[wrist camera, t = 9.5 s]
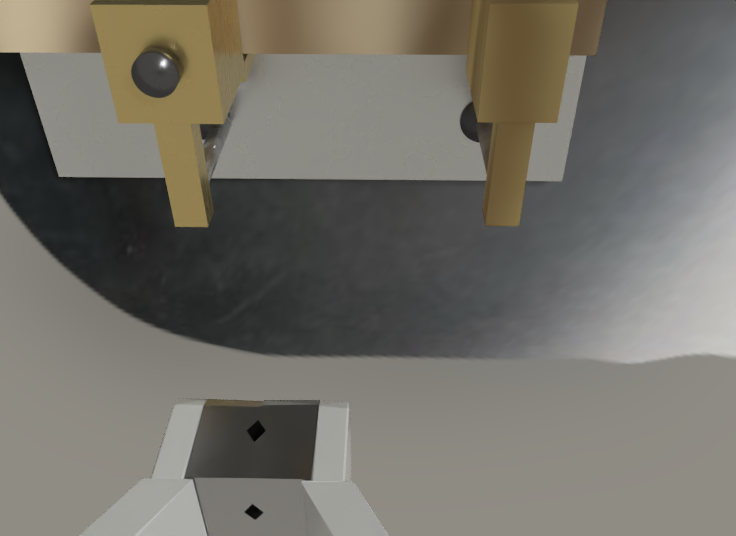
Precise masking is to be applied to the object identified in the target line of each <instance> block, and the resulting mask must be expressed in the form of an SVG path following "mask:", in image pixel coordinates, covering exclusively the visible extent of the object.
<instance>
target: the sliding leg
mask: <svg viewBox="0 0 736 536" xmlns="http://www.w3.org/2000/svg"><path fill="white" fill-rule="evenodd" d="M90 8H91V12H92V17H93V21H94V25H95V29H96V33H97V37H98V41H99V45H100V49H101V53H102V58H103V62H104V66H105V70H106V74H107V78H108V82H109V86H110V90H111V94H112V99H113V103H114V107H115V111H116V115H117V119H118V123H140V124H154V128H155V133H156V137H157V142H158V147H159V152H160V156H161V161H162V166H163V171H164V175H165V180H166V185H167V190H168V194H169V199H170V204H171V209H172V214H173V218H174V223H175V227H208V226H209V224H210V221H211V218H212V215H213V212H214V209H213V203H212V197H211V191H210V185H209V182H210V180H211V177H212V175H213V172H214V169H215V167H216V164H217V162H218V159H219V157H220V154H221V151H222V149H223V146H224V144H225V141H226V139H227V136H228V133H229V131H230V128H231V126H232V120H231V118H230V117H229V116H228V112H229V110H230V108H231V105H232V103H233V100H234V98H235V95H236V93H237V90H238V88H239V86H240V83H241V82H246V80H247V77H248V75H249V72H250V70H251V67H252V64H253V62H254V59H255V57H256V54H243V50H242V42H241V33H240V24H239V16H238V7H237V0H94V1H93V2H92V3H91V4H90ZM199 124H212V125H211V127H210V129H209V132H208V134H207V136H206V139H205V141H204V143H202V137H201V131H200V125H199Z"/></svg>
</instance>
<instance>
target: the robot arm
mask: <svg viewBox="0 0 736 536" xmlns="http://www.w3.org/2000/svg"><path fill="white" fill-rule="evenodd" d="M79 536H389V535H388V534H387V532H386V531H385V529H384V528H383V526H382V525H381V523H380V522H379V520H378V519H377V517H376V516H375V514H374V512H373V511H372V509H371V508H370V506H369V505H368V503H367V502H366V500H365V499H364V497H363V496H362V494H361V493H360V491H359V490H358V488H357V486H356V485H355V483H354V482H351V432H350V403H349V401H320V400H264V401H243V400H217V399H178V400H177V401H176V403H175V404H174V406H173V408H172V411H171V415H170V418H169V421H168V424H167V427H166V431H165V433H164V437H163V440H162V443H161V446H160V449H159V452H158V456H157V459H156V462H155V465H154V468H153V472H152V475H151V478H142V479H141V480H139V481H138V483H136V484H135V485H134V486H133V487H132V488H131V489H130V490H129V491H127V492H126V493H125V494H124V495H123V496H122V497H121V498H120V499H119V500H118V501H116V502H115V503H114V504H113V505H112V506H111V507H110V508H109V509H108V510H107V511H105V512H104V513H103V514H102V515H101V516H100V517H99V518H98V519H97V520H96V521H94V522H93V524H91V525H90V526H89V527H88V528H87V529H86V530H85V531H84V532H82V533H81V534H80V535H79Z"/></svg>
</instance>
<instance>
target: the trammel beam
mask: <svg viewBox="0 0 736 536" xmlns="http://www.w3.org/2000/svg"><path fill="white" fill-rule="evenodd" d="M93 1H94V0H0V52H25V53H101V49H100V45H99V41H98V37H97V33H96V29H95V25H94V21H93V17H92V12H91V8H90V4H91V3H92V2H93ZM606 5H607V0H237V7H238V16H239V24H240V33H241V42H242V50H243V54H387V55H467V62H466V74H467V78H468V83H469V87H470V91H471V96H472V100H473V105H474V109H475V113H476V118H477V121H476V129H477V133H478V138H479V142H480V147H481V151H482V156H483V160H484V165H485V169H486V174H487V176H486V185H485V193H484V202H483V215H484V220H485V225H486V226H519V222H520V216H521V210H522V203H523V197H524V191H525V185H526V178H527V172H528V166H529V159H530V153H531V147H532V141H533V134H534V128H535V123H557V121H558V116H559V110H560V105H561V99H562V94H563V88H564V83H565V77H566V72H567V66H568V60H569V56H596V54H597V49H598V44H599V39H600V34H601V29H602V24H603V19H604V14H605V10H606Z"/></svg>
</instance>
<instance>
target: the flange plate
mask: <svg viewBox="0 0 736 536" xmlns="http://www.w3.org/2000/svg"><path fill="white" fill-rule="evenodd" d="M20 55H21V59H22V62H23V65H24V68H25V71H26V74H27V77H28V81H29V84H30V87H31V90H32V93H33V96H34V99H35V103H36V106H37V109H38V112H39V115H40V118H41V121H42V125H43V128H44V131H45V134H46V137H47V140H48V144H49V147H50V150H51V153H52V156H53V159H54V162H55V166H56V169H57V172H58V175H59V177H129V178H165V175H164V171H163V166H162V161H161V156H160V152H159V147H158V142H157V137H156V133H155V128H154V124H140V123H118V119H117V115H116V111H115V107H114V103H113V99H112V94H111V90H110V86H109V82H108V78H107V74H106V70H105V66H104V62H103V58H102V53H25V52H20ZM586 57H587V56H569V60H568V66H567V72H566V77H565V83H564V88H563V94H562V99H561V105H560V110H559V116H558V121H557V123H535V128H534V134H533V141H532V147H531V153H530V159H529V166H528V172H527V178H526V181H562V180H563V174H564V169H565V164H566V159H567V154H568V149H569V144H570V139H571V134H572V128H573V123H574V118H575V113H576V108H577V103H578V98H579V93H580V88H581V83H582V77H583V72H584V67H585V62H586ZM466 62H467V55H387V54H256V57H255V59H254V62H253V64H252V67H251V70H250V72H249V75H248V77H247V80H246V82H241V83H240V86H239V88H238V90H237V93H236V95H235V98H234V100H233V103H232V105H231V108H230V110H229V112H228V116H229V117H230V118H231V120H232V126H231V128H230V131H229V133H228V136H227V139H226V141H225V144H224V146H223V149H222V151H221V154H220V157H219V159H218V162H217V164H216V167H215V169H214V172H213V175H212V177H211V178H243V179H357V180H470V181H486V176H487V174H486V169H485V165H484V160H483V156H482V151H481V147H480V142H479V138H478V133H477V129H476V121H477V118H476V113H475V109H474V105H473V100H472V96H471V91H470V87H469V83H468V78H467V74H466ZM199 125H200V131H201V137H202V143H204V141H205V139H206V136H207V134H208V132H209V129H210V127H211V125H212V124H199Z"/></svg>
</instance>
